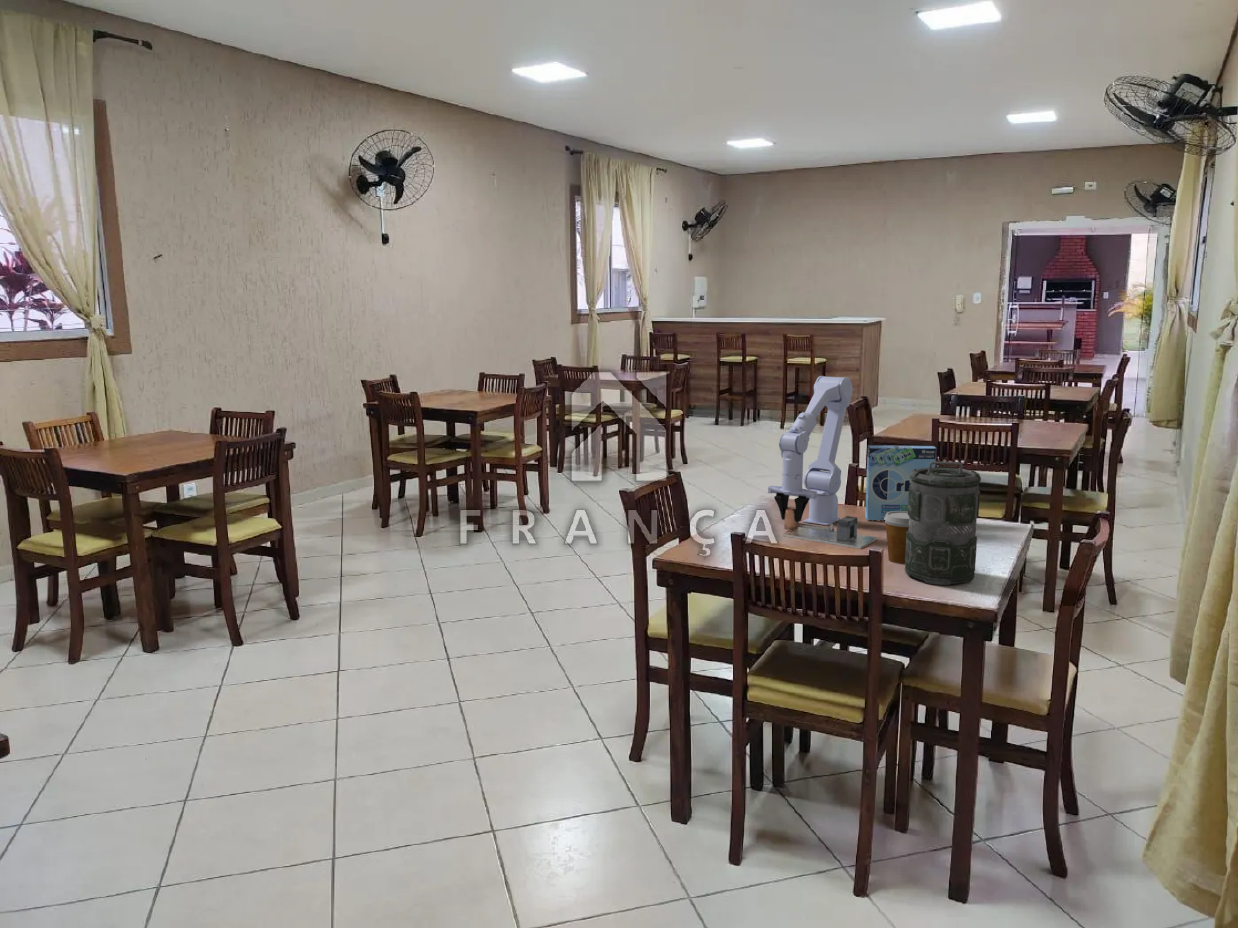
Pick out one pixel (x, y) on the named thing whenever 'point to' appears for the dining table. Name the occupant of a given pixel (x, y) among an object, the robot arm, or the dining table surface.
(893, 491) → the gum box
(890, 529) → the disposable coffee cup
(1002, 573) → the dining table surface
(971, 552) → the canister
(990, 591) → the dining table surface
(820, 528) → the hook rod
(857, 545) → the grey plate
